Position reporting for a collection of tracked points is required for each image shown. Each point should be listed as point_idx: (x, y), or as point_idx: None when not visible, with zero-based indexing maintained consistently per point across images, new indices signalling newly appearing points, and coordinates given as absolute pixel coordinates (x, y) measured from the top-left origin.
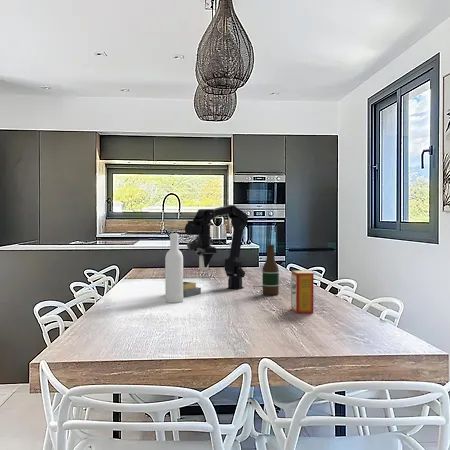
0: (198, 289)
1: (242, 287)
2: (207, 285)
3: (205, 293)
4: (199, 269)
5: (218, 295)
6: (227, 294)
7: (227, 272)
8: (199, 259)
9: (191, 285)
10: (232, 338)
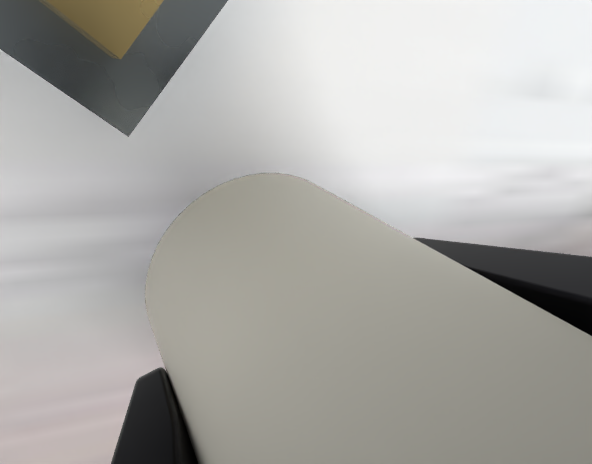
0: (73, 96)
1: None
2: (539, 190)
3: (158, 178)
4: (241, 184)
5: (6, 324)
6: (86, 394)
7: None
8: (467, 336)
9: None
10: None
